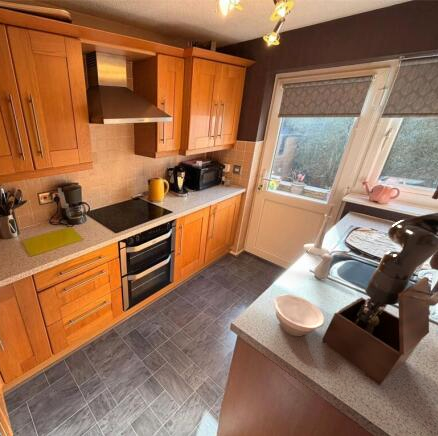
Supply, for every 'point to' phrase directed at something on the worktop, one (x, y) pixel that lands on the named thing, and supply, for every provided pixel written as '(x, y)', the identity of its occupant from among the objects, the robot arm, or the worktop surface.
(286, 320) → the bowl
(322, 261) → the salt shaker
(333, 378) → the worktop surface
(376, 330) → the chest
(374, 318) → the cork
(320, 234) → the candlestick
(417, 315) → the lid
